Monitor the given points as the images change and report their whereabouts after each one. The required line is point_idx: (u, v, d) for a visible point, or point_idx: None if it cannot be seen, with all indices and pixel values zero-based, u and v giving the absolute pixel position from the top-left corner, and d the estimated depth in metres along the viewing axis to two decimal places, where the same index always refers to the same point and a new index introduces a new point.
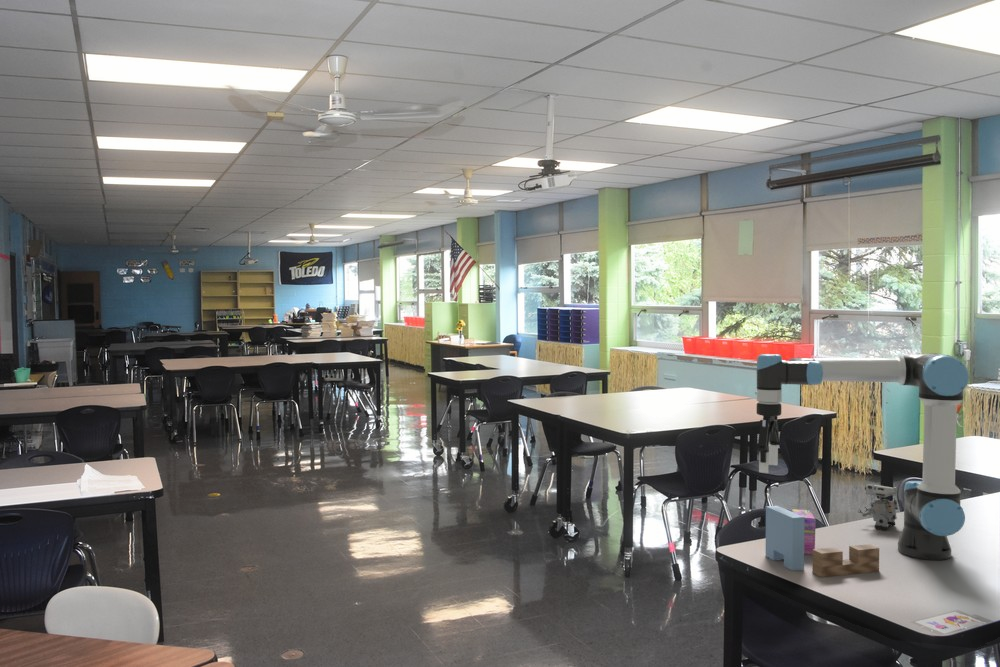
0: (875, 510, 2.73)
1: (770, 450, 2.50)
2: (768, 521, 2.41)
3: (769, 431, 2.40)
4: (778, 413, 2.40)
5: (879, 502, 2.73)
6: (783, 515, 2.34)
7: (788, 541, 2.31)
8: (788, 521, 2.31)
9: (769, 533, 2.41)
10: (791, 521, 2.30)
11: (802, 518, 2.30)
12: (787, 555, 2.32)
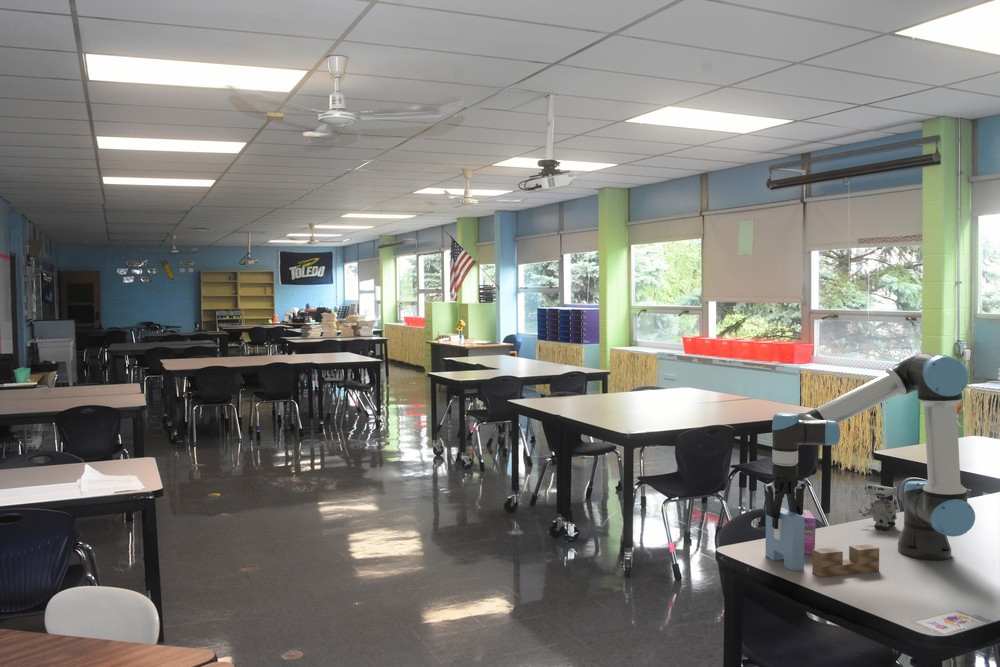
0: (875, 510, 2.73)
1: None
2: (768, 521, 2.41)
3: (779, 495, 2.35)
4: (786, 475, 2.32)
5: (879, 502, 2.73)
6: (783, 515, 2.34)
7: (788, 541, 2.31)
8: (788, 521, 2.31)
9: (769, 533, 2.41)
10: (791, 521, 2.30)
11: (802, 518, 2.30)
12: (787, 555, 2.32)
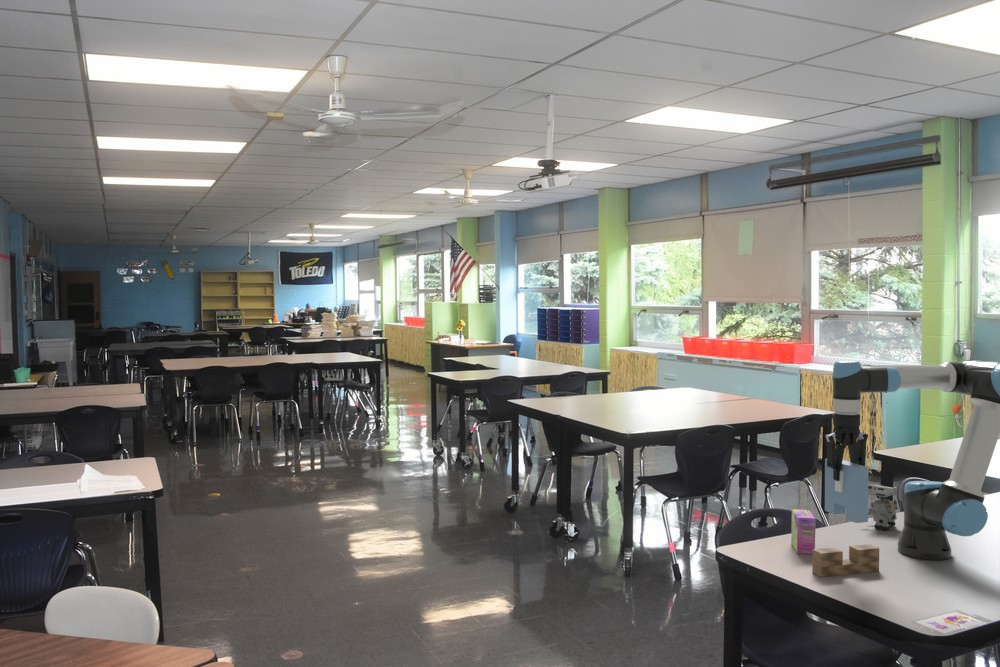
0: (875, 510, 2.73)
1: None
2: (827, 474, 2.32)
3: (841, 446, 2.26)
4: (848, 425, 2.23)
5: (879, 502, 2.73)
6: (845, 466, 2.25)
7: (851, 492, 2.22)
8: (851, 472, 2.22)
9: (828, 487, 2.32)
10: (855, 471, 2.21)
11: (866, 468, 2.21)
12: (850, 507, 2.23)
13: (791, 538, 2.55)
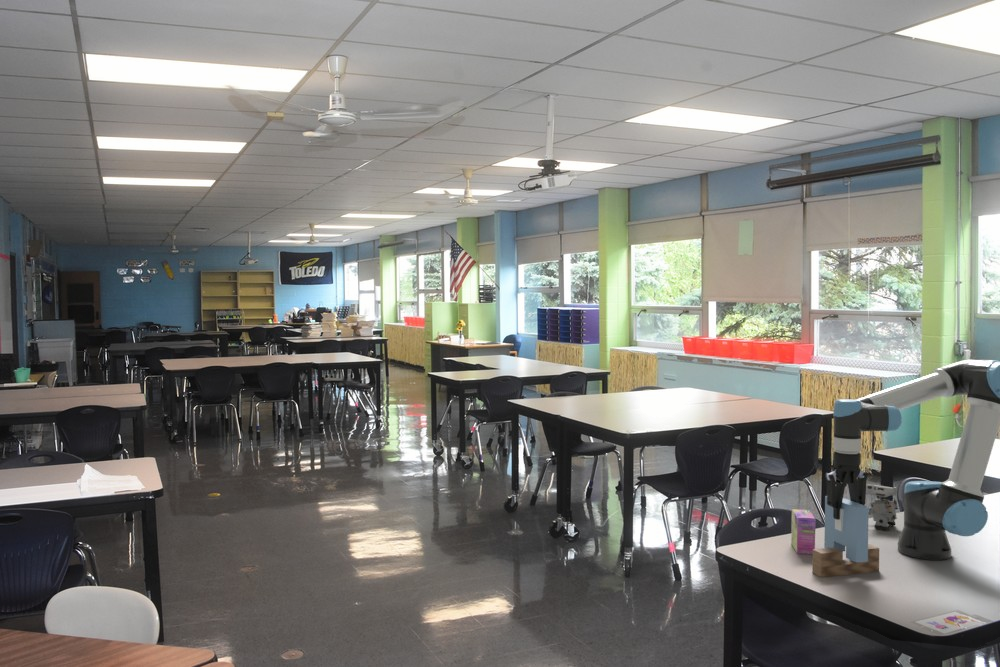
0: (875, 510, 2.73)
1: None
2: (827, 512, 2.33)
3: (841, 484, 2.26)
4: (849, 464, 2.24)
5: (879, 502, 2.73)
6: (845, 505, 2.25)
7: (851, 531, 2.23)
8: (852, 511, 2.22)
9: (828, 524, 2.32)
10: (855, 511, 2.21)
11: (866, 508, 2.21)
12: (850, 546, 2.23)
13: (791, 538, 2.55)
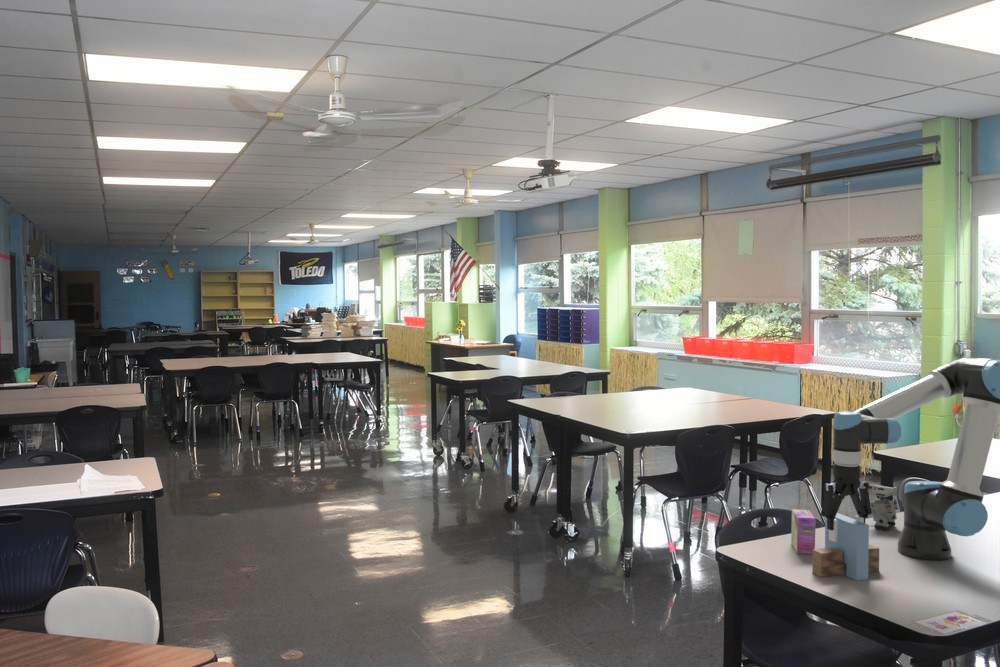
0: (875, 510, 2.73)
1: None
2: (828, 529, 2.33)
3: (839, 496, 2.26)
4: (849, 476, 2.24)
5: (879, 502, 2.73)
6: (846, 523, 2.25)
7: (851, 549, 2.23)
8: (852, 529, 2.22)
9: (828, 542, 2.33)
10: (855, 529, 2.21)
11: (866, 526, 2.21)
12: (850, 564, 2.23)
13: (791, 538, 2.55)
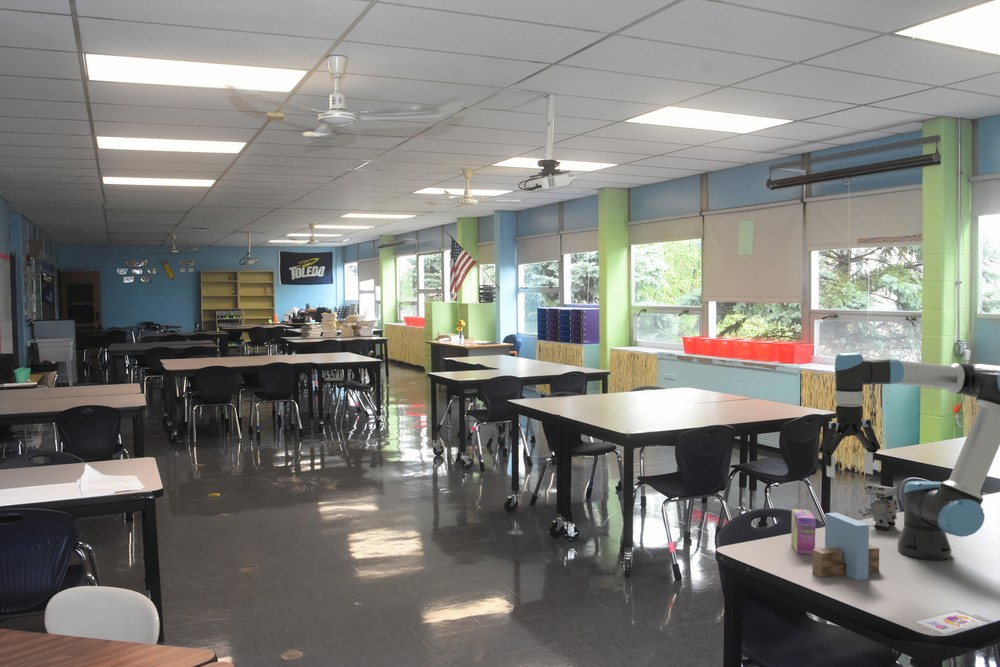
0: (875, 510, 2.73)
1: (865, 457, 2.32)
2: (828, 529, 2.33)
3: (840, 434, 2.27)
4: (852, 416, 2.26)
5: (879, 502, 2.73)
6: (846, 523, 2.25)
7: (851, 549, 2.23)
8: (852, 529, 2.22)
9: (828, 542, 2.33)
10: (855, 529, 2.21)
11: (866, 526, 2.21)
12: (850, 564, 2.23)
13: (791, 538, 2.55)
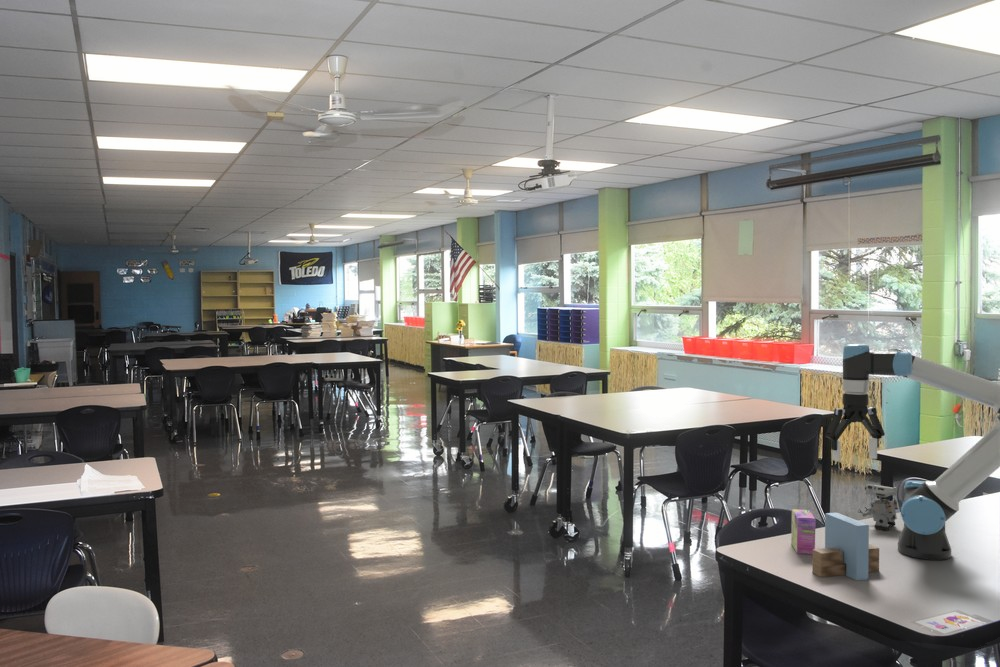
0: (875, 510, 2.73)
1: (870, 443, 2.45)
2: (828, 529, 2.33)
3: (846, 420, 2.41)
4: (857, 403, 2.39)
5: (879, 502, 2.73)
6: (846, 523, 2.25)
7: (851, 549, 2.23)
8: (852, 529, 2.22)
9: (828, 542, 2.33)
10: (855, 529, 2.21)
11: (866, 526, 2.21)
12: (850, 564, 2.23)
13: (791, 538, 2.55)
